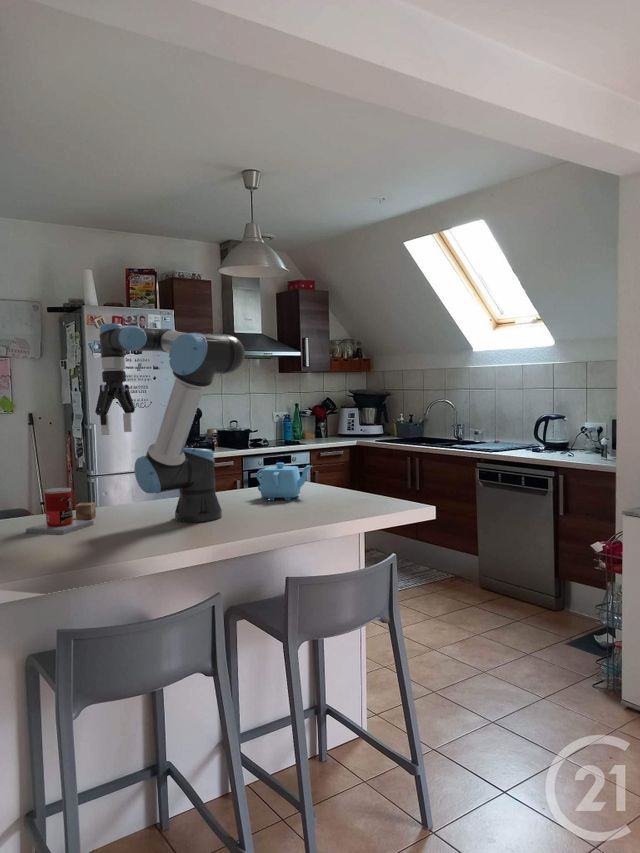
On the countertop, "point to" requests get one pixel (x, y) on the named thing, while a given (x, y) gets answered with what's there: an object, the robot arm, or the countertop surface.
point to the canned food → (58, 507)
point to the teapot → (281, 481)
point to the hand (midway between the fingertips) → (117, 433)
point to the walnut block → (85, 511)
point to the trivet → (61, 529)
